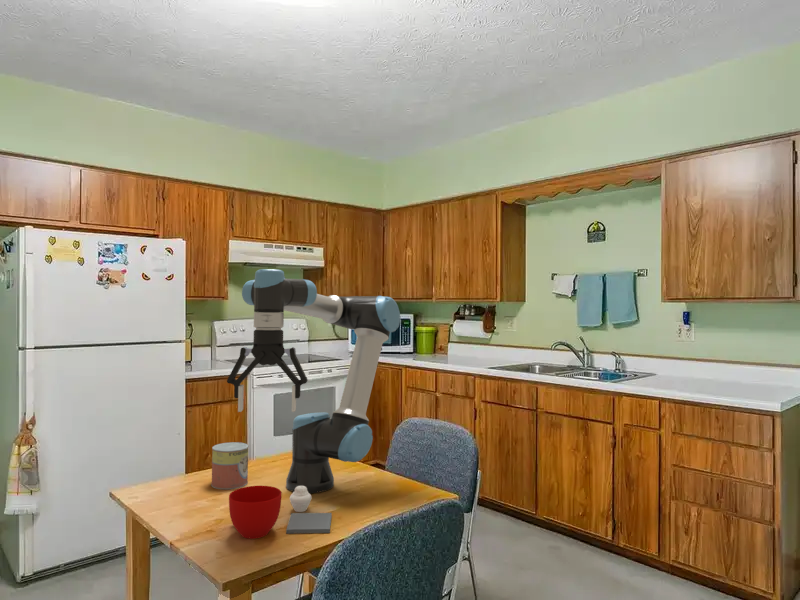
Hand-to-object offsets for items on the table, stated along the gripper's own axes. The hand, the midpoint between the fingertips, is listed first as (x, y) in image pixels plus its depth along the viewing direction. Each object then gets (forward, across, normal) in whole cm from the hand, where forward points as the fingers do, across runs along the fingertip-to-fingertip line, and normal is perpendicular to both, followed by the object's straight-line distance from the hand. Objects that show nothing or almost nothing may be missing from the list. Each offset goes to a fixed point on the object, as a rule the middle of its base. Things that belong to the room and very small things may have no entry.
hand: (267, 410), depth 141 cm
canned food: (+31, -18, +37) cm, 51 cm away
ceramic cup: (+31, -4, -1) cm, 31 cm away
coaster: (+31, +11, +3) cm, 33 cm away
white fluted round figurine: (+31, +7, +13) cm, 34 cm away
